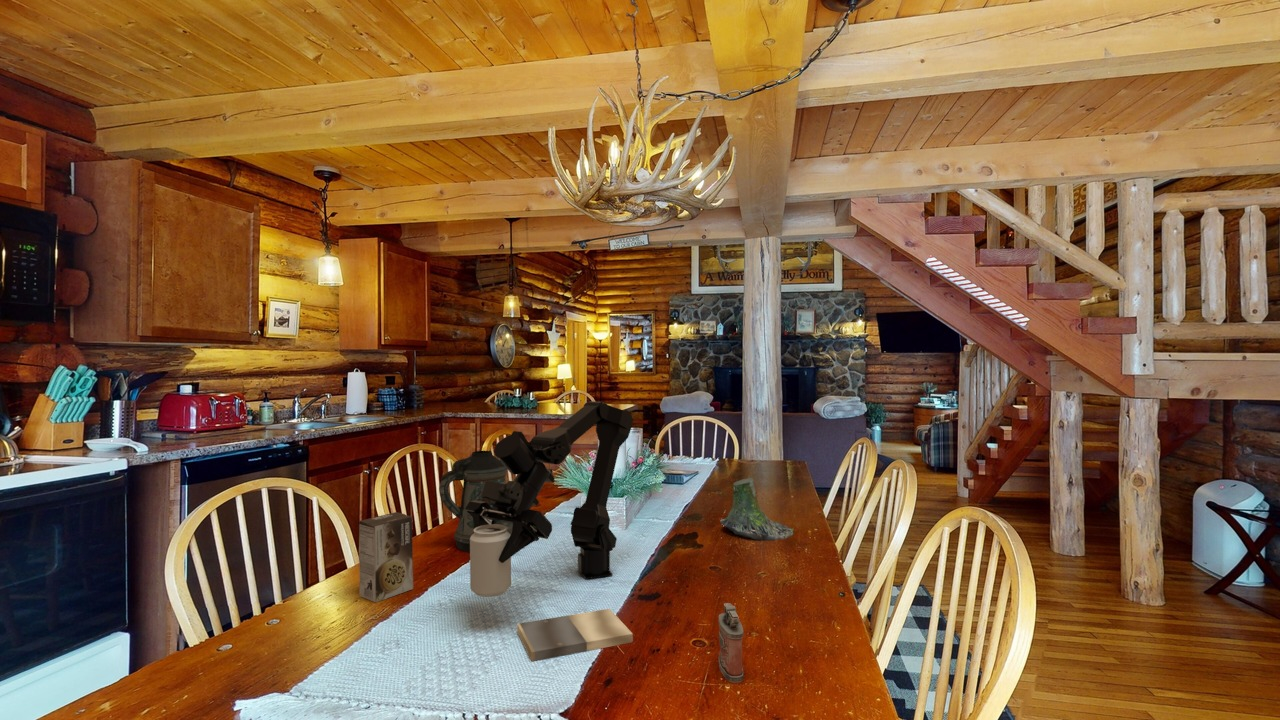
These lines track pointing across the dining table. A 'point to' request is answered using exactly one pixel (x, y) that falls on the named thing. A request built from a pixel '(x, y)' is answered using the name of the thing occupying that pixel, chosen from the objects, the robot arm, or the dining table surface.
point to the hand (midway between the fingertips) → (485, 558)
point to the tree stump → (752, 515)
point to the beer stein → (471, 490)
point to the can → (489, 561)
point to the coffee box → (385, 556)
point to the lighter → (730, 644)
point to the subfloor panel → (573, 634)
